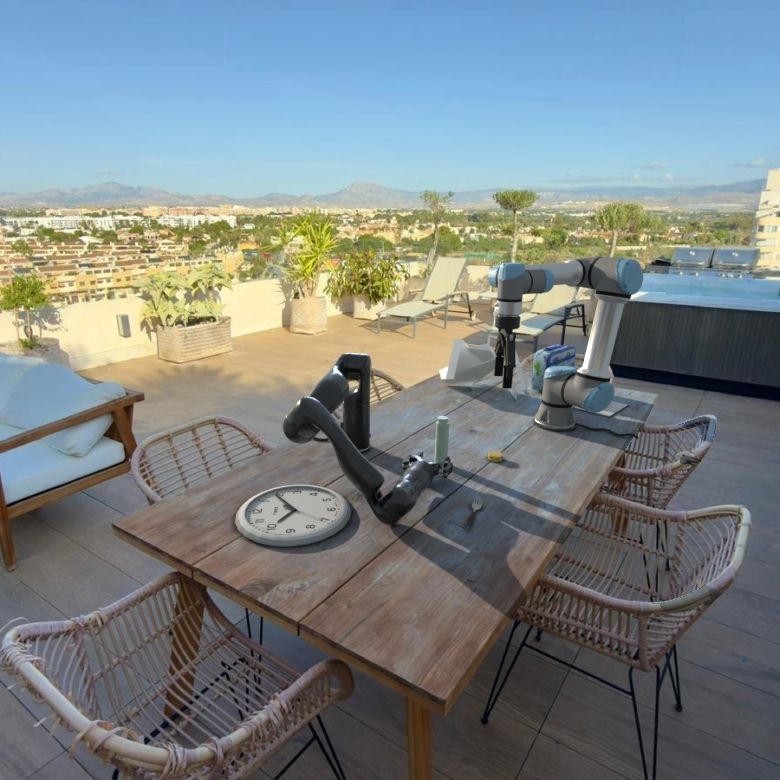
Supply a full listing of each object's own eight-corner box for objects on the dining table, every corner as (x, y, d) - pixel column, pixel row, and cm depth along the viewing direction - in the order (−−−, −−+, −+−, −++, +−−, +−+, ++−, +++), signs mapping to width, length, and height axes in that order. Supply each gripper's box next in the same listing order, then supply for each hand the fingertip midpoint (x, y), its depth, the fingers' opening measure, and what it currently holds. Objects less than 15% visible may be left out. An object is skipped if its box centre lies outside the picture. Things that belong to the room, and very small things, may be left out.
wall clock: (351, 538, 125) (223, 542, 122) (351, 544, 125) (223, 548, 123) (350, 480, 153) (246, 482, 151) (350, 485, 154) (246, 487, 151)
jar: (431, 462, 170) (433, 416, 165) (442, 460, 172) (444, 414, 167) (438, 467, 166) (441, 420, 161) (449, 465, 168) (452, 418, 163)
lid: (504, 458, 174) (505, 453, 173) (499, 463, 170) (499, 458, 170) (491, 454, 176) (491, 449, 176) (485, 459, 173) (485, 454, 172)
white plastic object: (461, 429, 252) (437, 405, 227) (444, 352, 274) (420, 323, 250) (535, 404, 240) (518, 377, 215) (510, 326, 262) (492, 293, 237)
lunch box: (547, 397, 237) (552, 352, 231) (526, 391, 245) (531, 348, 238) (574, 386, 255) (580, 344, 249) (554, 381, 262) (559, 340, 256)
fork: (461, 529, 132) (462, 523, 131) (474, 500, 146) (474, 494, 146) (471, 532, 131) (472, 525, 130) (483, 502, 145) (483, 495, 145)
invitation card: (608, 416, 214) (573, 407, 224) (608, 416, 214) (573, 408, 224) (628, 404, 229) (594, 396, 238) (628, 405, 229) (594, 397, 238)
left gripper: (393, 485, 151) (413, 463, 165) (440, 496, 145) (456, 472, 160) (394, 461, 148) (414, 441, 163) (441, 471, 143) (458, 449, 157)
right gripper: (488, 308, 171) (484, 371, 177) (504, 321, 147) (498, 393, 153) (511, 309, 171) (506, 371, 177) (530, 322, 147) (523, 394, 153)
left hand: (435, 456), depth 161 cm, fingers open, 8 cm apart
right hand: (502, 382), depth 165 cm, fingers open, 13 cm apart
